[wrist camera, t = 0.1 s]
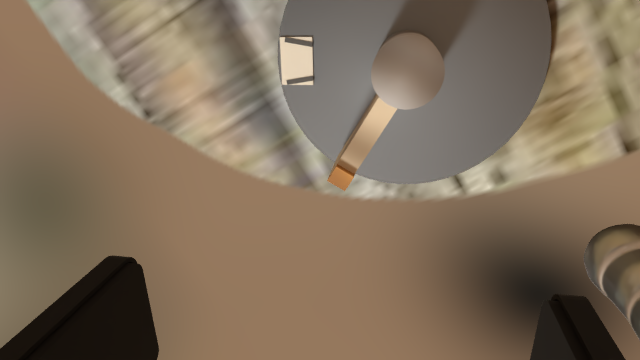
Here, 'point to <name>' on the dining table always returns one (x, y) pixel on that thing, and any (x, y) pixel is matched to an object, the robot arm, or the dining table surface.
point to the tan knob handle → (391, 95)
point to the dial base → (450, 102)
